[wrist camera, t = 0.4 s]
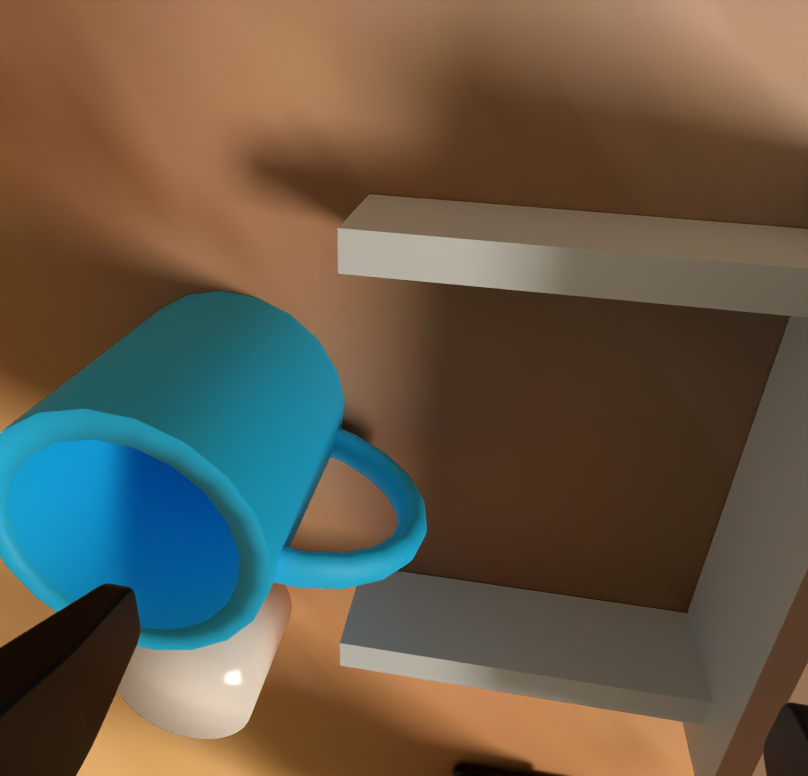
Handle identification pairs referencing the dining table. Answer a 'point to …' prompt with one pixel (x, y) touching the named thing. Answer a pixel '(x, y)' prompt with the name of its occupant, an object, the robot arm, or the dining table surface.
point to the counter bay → (736, 531)
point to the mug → (191, 473)
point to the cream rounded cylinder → (208, 677)
